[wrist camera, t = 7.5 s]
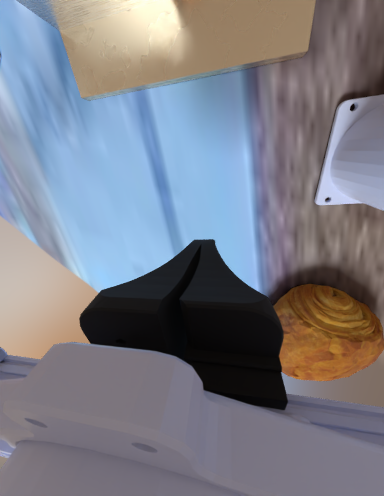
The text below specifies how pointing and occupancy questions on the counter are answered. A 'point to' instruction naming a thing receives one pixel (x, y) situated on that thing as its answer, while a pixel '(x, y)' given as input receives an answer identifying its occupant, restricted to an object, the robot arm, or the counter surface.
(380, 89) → the counter surface
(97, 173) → the counter surface
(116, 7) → the bearing block
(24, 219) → the counter surface
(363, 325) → the croissant
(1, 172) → the counter surface
